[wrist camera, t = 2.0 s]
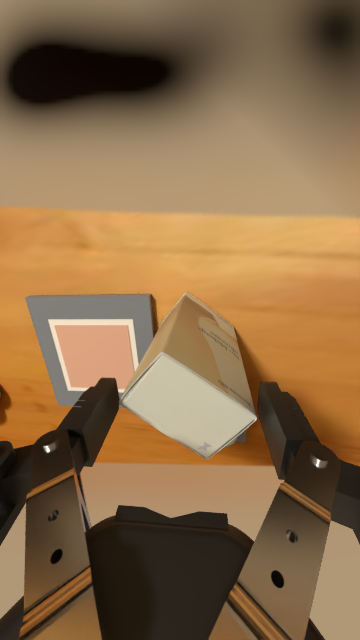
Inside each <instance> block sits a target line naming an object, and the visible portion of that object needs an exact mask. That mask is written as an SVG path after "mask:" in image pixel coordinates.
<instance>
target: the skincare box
mask: <svg viewBox="0 0 360 640" xmlns="http://www.w3.org/2000/svg"><path fill="white" fill-rule="evenodd" d="M119 403H120V405H121V406H123V407H124V408H126V409H128V410H129V411H131V412H132V413H134V414H136V415H137V416H139V417H140V418H142V419H143V420H145V421H147V422H148V423H150V424H151V425H152V426H154V427H155V428H156V429H158V430H159V431H160V432H162V433H163V434H165V435H167V436H169V437H170V438H172V439H174V440H176V441H178V442H179V443H181V444H183V445H184V446H186V447H187V448H189V449H190V450H192V451H194V452H195V453H197V454H198V455H200V456H201V457H203V458H204V459H207V460H208V459H209V458H211V457H212V456H213V455H214V454H215V453H217V452H218V451H220V450H221V449H222V448H224V447H225V446H226V445H227V444H229V443H230V442H231V441H232V440H234V439H235V438H236V437H237V436H239V435H240V434H241V433H242V432H244V431H245V430H246V429H247V428H248V427H249V426H250V425H251V424H252V423H254V422H255V421H256V420H257V415H256V412H255V408H254V404H253V400H252V396H251V393H250V389H249V385H248V381H247V377H246V373H245V369H244V365H243V361H242V357H241V353H240V350H239V346H238V342H237V338H236V334H235V330H234V327H233V325H231V324H230V323H229V322H228V321H227V320H225V319H224V318H223V317H222V316H220V315H219V314H218V313H217V312H215V311H214V310H213V309H211V308H210V307H209V306H207V305H206V304H204V303H203V302H201V301H200V300H199V299H197V298H196V297H194V296H193V295H191V294H190V293H189V292H185V293H184V294H183V296H182V297H181V298H180V299H179V301H178V302H177V303H176V304H175V306H174V307H173V308H172V309H171V311H170V312H169V313H168V315H167V316H166V317H165V319H164V320H163V322H162V324H161V326H160V327H159V329H158V331H157V333H156V335H155V336H154V338H153V340H152V342H151V344H150V345H149V347H148V349H147V351H146V353H145V355H144V357H143V358H142V360H141V362H140V364H139V366H138V367H137V369H136V371H135V373H134V375H133V376H132V378H131V380H130V382H129V384H128V385H127V387H126V389H125V391H124V393H123V394H122V396H121V398H120V400H119Z"/></svg>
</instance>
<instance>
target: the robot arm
mask: <svg viewBox="0 0 360 640" xmlns="http://www.w3.org/2000/svg"><path fill="white" fill-rule="evenodd" d="M119 400H120V399H119V393H118V387H117V381H116V379H115V378H103V377H102V378H100V380H99V381H98V383H97V384H96V385H95V386H91V387H90V388H89V389H87V390H86V391H85V392H83V394H82V395H81V396H80V398H79V399H78V401H77V402H76V403H75V405H74V407H72V409H71V410H70V411H69V413H68V414H67V416H66V417H65V418H64V420H63V421H62V422H61V424H60V425H59V427H58V428H57V429H56V430H53V431H50V432H48V433H46V434H44V435H43V436H41V437H40V438H39V439H38V440H37V441H36V442H35V443H34V444H33V445H29V446H25V447H20V448H16V449H14V448H13V446H12V444H11V443H10V442H8V441H0V545H1V543H2V542H3V540H4V539H5V537H6V535H7V534H8V532H9V530H10V528H11V527H12V525H13V523H14V521H15V520H16V518H17V516H18V515H19V513H20V511H21V510H22V508H23V507H24V505H25V503H26V531H25V578H24V579H25V582H24V596H23V597H22V598H21V599H20V600H19V601H18V602H17V603H16V604H15V605H14V606H13V607H12V608H11V609H10V610H9V611H8V612H7V613H6V614H5V615H4V616H3V617H2V618H1V619H0V640H325V639H324V638H323V636H322V635H321V633H320V632H319V630H318V629H317V628H316V626H315V625H314V623H313V622H312V621H311V619H310V618H309V616H310V611H311V607H312V602H313V598H314V593H315V589H316V584H317V580H318V575H319V571H320V566H321V562H322V558H323V553H324V548H325V544H326V540H327V535H328V531H329V526H330V521H331V520H332V521H334V522H337V523H339V524H341V525H344V526H346V527H349V528H351V529H353V531H354V533H355V535H356V537H357V539H358V541H359V544H360V467H359V466H356V465H353V464H350V463H347V462H344V461H342V460H340V459H338V457H337V456H336V454H335V453H334V452H333V451H332V450H330V449H329V448H328V447H326V446H325V445H323V444H321V443H320V441H319V440H318V438H317V436H316V434H315V433H314V431H313V429H312V427H311V426H310V424H309V422H308V420H307V418H306V417H305V416H304V413H303V411H302V410H301V409H300V406H299V404H298V403H297V401H296V399H295V398H294V397H292V396H291V395H290V394H289V393H288V392H281V390H280V388H279V386H278V384H277V383H276V382H260V388H259V396H258V415H259V419H260V422H261V425H262V428H263V431H264V435H265V438H266V441H267V444H268V447H269V450H270V454H271V457H272V460H273V463H274V466H275V469H276V472H277V476H278V479H281V480H285V481H284V483H283V484H282V483H281V484H280V486H279V488H278V490H277V493H276V495H275V497H274V499H273V502H272V504H271V506H270V508H269V510H268V513H267V515H266V517H265V519H264V521H263V524H262V526H261V528H260V531H259V533H258V535H257V537H256V540H255V542H254V541H253V540H252V539H250V537H248V536H247V535H246V534H245V533H243V532H242V531H241V530H239V529H237V528H236V527H234V526H232V525H229V524H228V519H227V514H224V513H212V512H195V513H191V514H187V515H183V516H178V517H174V518H169V517H166V516H164V515H162V514H159V513H157V512H154V511H152V510H150V509H147V508H145V507H135V506H122V505H119V506H118V509H117V512H116V515H115V516H112V517H109V518H106V519H104V520H103V521H101V522H99V523H97V524H96V525H94V526H93V527H92V526H91V522H90V518H89V514H88V509H87V504H86V500H85V494H84V490H83V485H82V480H81V476H80V472H81V470H82V468H83V466H87V467H92V466H93V464H94V462H95V460H96V458H97V455H98V453H99V451H100V449H101V447H102V445H103V442H104V440H105V438H106V436H107V434H108V431H109V429H110V427H111V425H112V423H113V421H114V418H115V416H116V414H117V412H118V409H119V404H120V403H119Z"/></svg>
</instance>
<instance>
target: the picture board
mask: <svg viewBox="0 0 360 640" xmlns="http://www.w3.org/2000/svg"><path fill="white" fill-rule="evenodd" d="M25 299H26V302H27V306H28V309H29V312H30V315H31V318H32V322H33V325H34V328H35V331H36V335H37V338H38V341H39V344H40V347H41V351H42V354H43V357H44V360H45V363H46V367H47V370H48V373H49V376H50V379H51V383H52V386H53V389H54V392H55V396H56V399H57V402H58V405H64V406H74V405H75V403H76V402H77V401H78V399H79V398H80V396H81V395H82V394H83V392H85V391H86V390H87V389H89V388H90V387H91V386H95V385H96V384H97V383H98V381H99V380H100V378H102V377H103V378H115V379H116V381H117V387H118V393H119V399H120V398H121V396H122V394H123V393H124V391H125V389H126V387H127V385H128V384H129V382H130V380H131V378H132V376H133V375H134V373H135V371H136V369H137V367H138V366H139V364H140V362H141V360H142V358H143V357H144V355H145V353H146V351H147V349H148V347H149V345H150V344H151V342H152V340H153V338H154V336H155V332H154V321H153V310H152V300H151V294H106V295H41V296H28V297H26V298H25ZM119 408H124V407H123V406H121V405H120V404H119Z"/></svg>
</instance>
